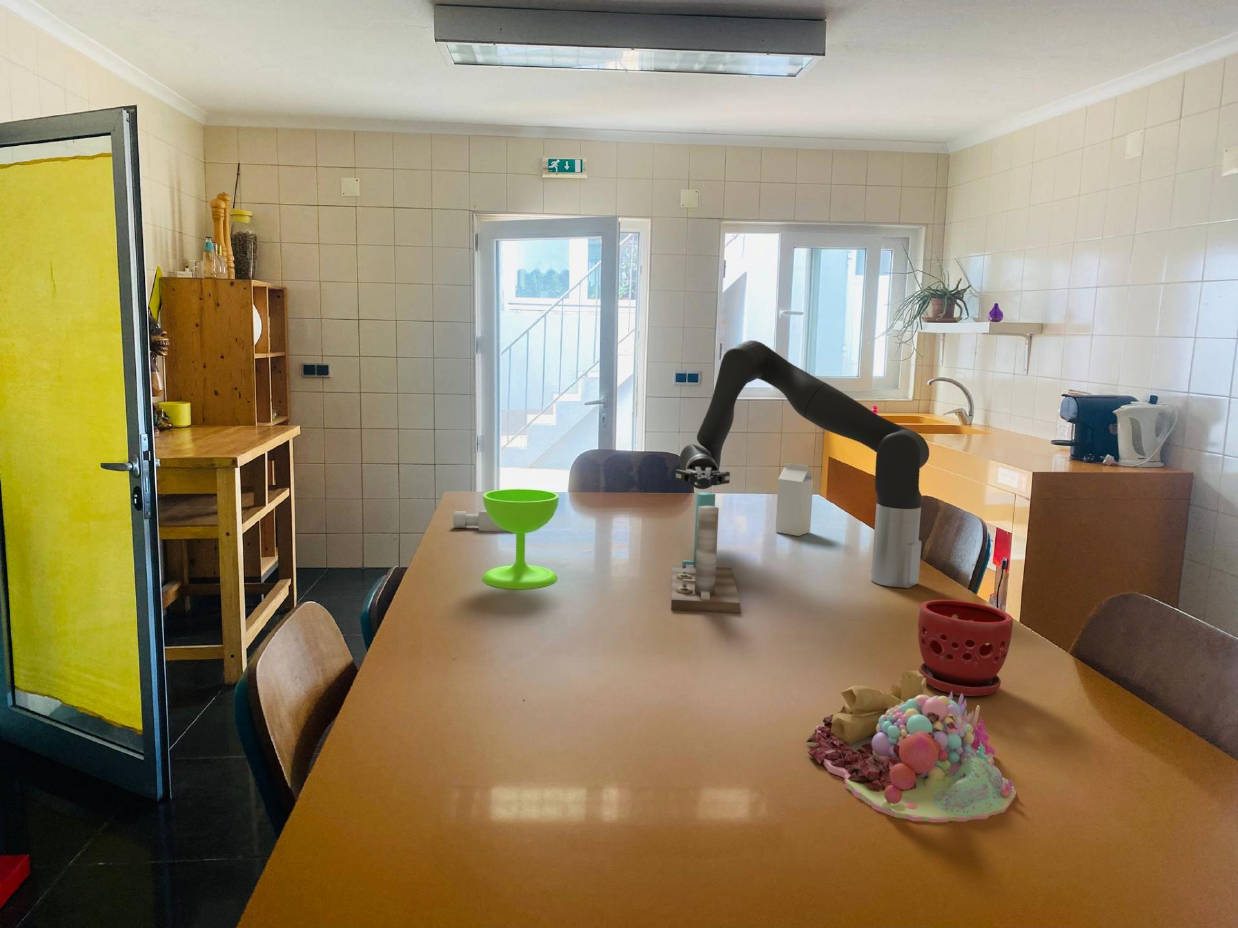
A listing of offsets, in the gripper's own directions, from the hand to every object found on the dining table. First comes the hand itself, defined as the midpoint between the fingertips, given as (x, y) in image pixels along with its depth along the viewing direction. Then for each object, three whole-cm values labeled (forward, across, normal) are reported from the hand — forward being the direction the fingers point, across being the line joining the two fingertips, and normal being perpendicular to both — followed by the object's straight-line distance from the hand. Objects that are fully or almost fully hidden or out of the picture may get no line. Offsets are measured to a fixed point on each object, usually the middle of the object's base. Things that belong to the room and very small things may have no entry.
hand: (704, 482), depth 189 cm
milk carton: (-47, -27, -21) cm, 58 cm away
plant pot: (+59, -38, -20) cm, 73 cm away
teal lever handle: (+7, +1, -18) cm, 19 cm away
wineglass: (+11, +38, -21) cm, 45 cm away
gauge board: (+15, 0, -20) cm, 25 cm away
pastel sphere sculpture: (+86, -24, -20) cm, 91 cm away
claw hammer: (-48, +54, -22) cm, 76 cm away
